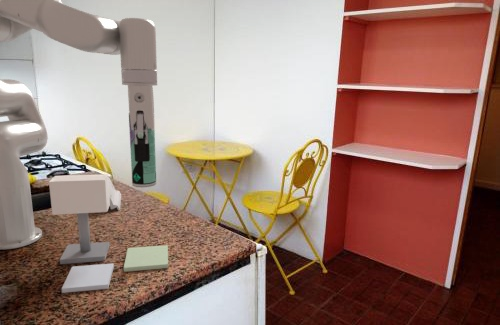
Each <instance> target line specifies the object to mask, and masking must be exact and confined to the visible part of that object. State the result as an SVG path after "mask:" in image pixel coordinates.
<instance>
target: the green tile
mask: <svg viewBox="0 0 500 325" xmlns="http://www.w3.org/2000/svg"><path fill="white" fill-rule="evenodd" d="M125 255H126V256H125V260H124V264H123V272H124V273H126V272H135V271H136V272H137V271H138V272H139V271H147V270H148V271H149V270H150V271H151V270H157V269H158V270H160V269H168V268H169V245H168V244H165V245H152V246H138V247H127V250H126V254H125Z"/></svg>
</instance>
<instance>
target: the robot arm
mask: <svg viewBox="0 0 500 325" xmlns="http://www.w3.org/2000/svg"><path fill="white" fill-rule="evenodd" d="M32 30H35V31H38V32H40V33H42V34H44V35H45V36H46V37H48V38H50V39H51V40H53V41H56V42H58V43H61V44H63V45H66V46H68V47H71V48H73V49H76V50H79V51H82V52H86V53H94V54H95V53H96V54H103V55H111V56H113V55H114V56H117V55H118V56H120V68H121V85H122V86H127V97H128V98H127V99H128V111H129V112H128V115H129V114H130V123H131V129H132V130H133V131H135V144H134V151H135V161H136V162H144V161H150V150H149V143H148V129H151V131H153V130H155V102H154V101H155V100H154V99H155V98H154V89H153V86H158V72H157V71H158V70H157V69H158V68H157V67H158V66H157V62H158V61H157V40H156V39H157V38H156V37H157V36H156V35H157V34H156V25H155V23H154V22H153V21H152V20H150V19H147V18H140V17H139V18H138V17H126V18H122V19H121V20H120V21H119V20H116V19H111V18H107V17H104V16H99V15H96V14H92V13H89V12H85V11H82V10H79V9H77V8H74V7H72V6H69V5H66V4H64V3H63V2H62V1H61V0H0V43H5V42H6V43H7V42H11V41H14V40H16V39H18V38H20V37H21V36H23V35H25V34H27V33H28V32H29V31H32ZM143 113H144V120H143ZM2 117H3V118H4V117H7V119H8V120H3V121H0V250H12V249H17V248H18V249H19V248H22V247H25V246H28V245H31V244H33V243H36V242H37V241H39V240H40V239H41V238H42V236H43V231H42V229H41V228H39V227H37V226H35V219H34V218H35V217H34V211H33V210H34V209H33V202H32V201H33V200H32V194H31V193H32V192H31V191H32V190H31V185H30V184H31V183H30V176H29V172H28V169H27V167H26V166H25V165H24V164H23V162H22V161H21V159H20V158H21V157H24V156H27V155H31V154H34V153H37V152H40V151H42V150H43V149H44V148H45V147H46V145H47V143H48V139H49V138H48V132H47V128H46V125H45V123H44V120H43V118H42V115H41V112H40V109H39V107H38V104H37V102H36V100H35V97H34V95H33V93H32V91H31V90H30V88H28V87H27V86H26V84H24V83H22V82H21V81H19V80H15V79H7V78H6V79H5V78H4V79H2V78H0V118H2ZM145 123H146V124H145ZM134 125H135V127H134ZM136 126H137V128H136ZM143 127H146V130H143ZM134 129H135V130H134Z"/></svg>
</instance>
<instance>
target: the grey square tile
mask: <svg viewBox="0 0 500 325" xmlns="http://www.w3.org/2000/svg"><path fill="white" fill-rule="evenodd" d="M114 265H115V264H114V263H112V262H111V263H101V264H88V265H77V266H71V268H70V270H69V272H68V275H67V277H66V279H65V281H64V283H63V285H62V287H61V293H62V294H64V293H74V292H75V293H76V292H77V293H78V292H85V291H97V290H98V291H99V290H106V289H107V290H108V289H109V287H110V284H111V279H112V276H113V271H114V268H115V266H114Z"/></svg>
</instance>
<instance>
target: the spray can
mask: <svg viewBox="0 0 500 325" xmlns="http://www.w3.org/2000/svg"><path fill="white" fill-rule="evenodd" d="M143 120H144V113H143ZM128 121H129V122H128V126H129V144H130V160H131V161H130V162H131V163H130V164H131V183H132V186H133V187H135V188H141V189H142V188H150V187H151V188H152V187H154V186H156V185H157V162H156V136H155V135H156V134H155V131H156V130H155V129H154V130H153V131H151V129H148V143H149V150H150V161H144V162H136V161H135V151H134V144H135V131H133V130H132V129H131V123H130V114H129V113H128ZM145 124H146V123H145ZM134 127H135V125H134ZM136 128H137V126H136ZM134 130H135V129H134ZM143 130H146V127H143Z"/></svg>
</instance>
